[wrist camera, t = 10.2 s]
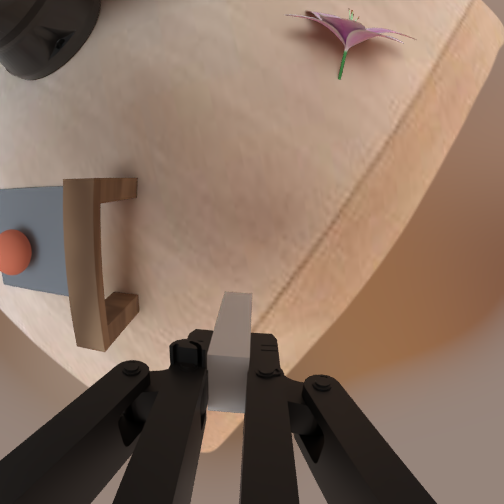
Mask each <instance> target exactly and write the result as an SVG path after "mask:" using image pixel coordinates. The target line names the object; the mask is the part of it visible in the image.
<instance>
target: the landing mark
mask: <svg viewBox="0 0 504 504" xmlns="http://www.w3.org/2000/svg"><path fill="white" fill-rule="evenodd" d="M10 229H14V230H18V231H20V232H22V233H23V234H24V235H25V236H26V237H27V238H28V240H29V242H30V245H31V250H32V255H31V260H30V263H29V265H28V267H27V268H26V269H25V270H24V271H23V272H21V273H20V274H17V275H7V274H4V273H3V272H2V276H3V283H4V284H5V285H10V286H15V287H20V288H25V289H30V290H36V291H41V292H47V293H53V294H58V295H64V296H69V293H68V285H67V275H66V264H65V251H64V232H63V186H55V187H33V188H15V189H1V190H0V234H1V233H2V232H4V231H6V230H10Z"/></svg>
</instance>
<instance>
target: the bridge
mask: <svg viewBox="0 0 504 504" xmlns="http://www.w3.org/2000/svg"><path fill="white" fill-rule="evenodd" d="M131 198H137V178H87V179H63V232H64V251H65V264H66V275H67V285H68V293H69V301H70V308H71V315H72V321H73V327H74V333H75V338H76V343H77V346H78V347H83V348H87V349H92V350H97V351H102V352H106V350H107V349H108V348H109V347H110V345H111V344H112V343H113V342H114V341H115V339H116V338H117V337H118V336H119V335H120V333H121V332H122V331H123V330H124V329H125V328H126V326H127V325H128V324H129V323H130V322H131V320H132V319H133V318H134V317H135V316H136V315H137V313H138V312H139V303H138V295H135V294H126V293H118V292H113V293H112V294H111V295H110V296H109V297H107V298H106V299H104V287H103V274H102V257H101V227H100V204H101V203H107V202H112V201H118V200H125V199H131Z"/></svg>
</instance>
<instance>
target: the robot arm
mask: <svg viewBox="0 0 504 504" xmlns="http://www.w3.org/2000/svg"><path fill="white" fill-rule="evenodd" d="M99 11H100V0H0V63H1V64H2V65H3V66H4V67H5V68H6V70H7V71H8V72H9V73H11V74H12V75H14V76H17V77H20V78H23V79H26V80H34V79H39V78H42V77H44V76H47V75H49V74H50V73H52V72H54V71H55V70H57V69H58V68H60V67H61V66H62V65H63V64H65V63H66V62H67V61H68V60H69V59H70V58H71V57H72V56H73V55H74V54H75V53H76V52H77V51H78V50H79V48H80V47H81V46H82V45H83V43H84V42H85V41H86V39H87V38H88V36H89V35H90V33H91V31H92V29H93V27H94V25H95V23H96V21H97V18H98V15H99ZM251 312H252V293H238V292H224V296H223V299H222V303H221V306H220V310H219V314H218V317H217V321H216V324H215V328H214V331H211V330H200V329H195V330H194V331H193V332H191V333H190V334H189V336H188V338H187V339H182V340H177V341H175V342H173V343H171V345H170V346H169V348H170V363H171V365H170V367H169V369H166V370H161V371H149V367H148V366H147V365H146V364H145V363H143V362H141V361H136V360H129V361H125V362H122V363H120V364H118V365H117V366H115V367H114V368H113V369H112V370H111V371H109V372H108V373H107V374H106V375H104V376H103V377H102V378H101V379H100V380H98V381H97V382H96V383H95V384H93V385H92V386H91V387H90V388H89V389H87V390H86V391H85V392H84V393H83V394H81V395H80V396H79V397H78V398H76V399H75V400H74V401H73V402H71V403H70V404H69V405H68V406H67V407H65V408H64V409H63V410H62V411H61V412H59V413H58V414H57V415H56V416H54V417H53V418H52V419H51V420H49V421H48V422H47V423H46V424H45V425H43V426H42V427H41V428H40V429H38V430H37V431H36V432H35V433H34V434H32V435H31V436H30V437H29V438H27V440H25V441H24V442H23V443H21V444H20V445H19V446H18V447H16V448H15V449H14V450H13V451H12V452H10V453H9V454H8V455H7V456H5V457H4V458H3V459H2V460H1V461H0V504H91V502H92V501H93V500H94V499H95V498H96V497H97V495H98V494H99V493H100V492H101V491H102V489H103V488H104V487H105V486H106V485H107V483H108V482H109V481H110V480H111V479H112V477H113V476H114V475H115V474H116V473H117V471H118V470H119V469H120V468H121V466H122V465H123V464H124V463H125V462H126V461H127V459H128V458H129V457H130V456H131V454H132V453H133V454H132V457H131V459H130V461H129V463H128V466H127V468H126V471H125V473H124V476H123V478H122V481H121V483H120V486H119V488H118V491H117V493H116V496H115V498H114V501H113V503H112V504H190V502H191V496H192V491H193V486H194V480H195V475H196V469H197V465H198V459H199V454H200V449H201V444H202V439H203V434H204V429H205V424H206V408H207V404H208V410H211V411H221V412H233V413H245V415H244V429H243V447H242V465H241V483H240V499H239V504H299V497H298V486H297V477H296V469H295V460H294V452H293V443H292V434H291V433H294V438H295V440H296V442H297V444H298V446H299V448H300V450H301V452H302V454H303V456H304V458H305V460H306V462H307V464H308V466H309V468H310V470H311V472H312V474H313V476H314V478H315V480H316V482H317V484H318V486H319V487H320V489H321V491H322V493H323V495H324V497H325V499H326V501H327V503H328V504H437V503H436V502H435V501H434V499H433V498H432V497H431V496H430V495H429V494H428V492H427V491H426V490H425V489H424V487H423V486H422V485H421V484H420V483H419V481H418V480H417V479H416V478H415V477H414V475H413V474H412V473H411V471H410V470H409V469H408V468H407V467H406V465H405V464H404V463H403V462H402V460H401V459H400V458H399V457H398V455H397V454H396V453H395V452H394V451H393V449H392V448H391V447H390V446H389V444H388V443H387V442H386V441H385V440H384V438H383V437H382V436H381V435H380V433H379V432H378V431H377V429H375V427H374V426H373V425H372V423H371V422H370V421H369V420H368V418H367V417H366V416H365V415H364V414H363V412H362V411H361V410H360V408H359V407H358V406H357V405H356V403H355V402H354V401H353V399H352V398H351V397H350V396H349V395H348V393H347V392H346V391H345V389H344V388H343V387H342V386H341V384H340V383H339V382H338V381H337V380H336V379H334V378H332V377H330V376H327V375H313V376H309V377H308V378H307V379H305V382H304V383H303V382H298V381H294V380H291V379H289V378H287V377H286V376H284V373H283V370H282V369H281V368H280V361H279V353H278V344H277V339H276V338H275V337H274V336H273V335H272V334H263V333H251Z"/></svg>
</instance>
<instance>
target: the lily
mask: <svg viewBox="0 0 504 504" xmlns="http://www.w3.org/2000/svg"><path fill="white" fill-rule="evenodd" d="M307 12H311V11H307ZM312 13H313V14H314V15H316V16H317V17H318V18H319V19H320V20H319V19H316V18H313V17H308V16H301V15H287V16H295V17H301V18H307V19H310V20H314V21H317V22H319V23H321V24H323V25H324V26H326V27H327V28H329V29H330V30H331V31H332V32H333V33H334V34H335V35H336V36H337V37H338V38H339V39H340V40H341V42H342V43H343V44H344V46H345V49H344V54H343V58H342V62H341V67H340V72H339V76H338V79H339V80H340V79H341V76H342V72H343V67H344V63H345V58H346V54H347V51H348V49H349V48H350V47H352V46H354V45H356V44H358V43H360V42H363V41H365V40H368V39H370V38H373V37H376V36H382V37H386V38H389V39H392V40H395V41H398V42H401V43H403V42H402V41H400V40H398V39H396V38H393V37H390V36H385V35H381V34H379V33H386V32H392V33H397V34H400V35H403V36H407V35H404V34H401V33H398V32H395V31H392V30H388V29H383V28H367V29H365V26H363V25H362V24H361V23H359V22H356V20H357V19H359V17H358V18H357V19H356V20H355V21H353V20H352V19H353V16H354V14H353V10H351V19H350V9H349V20H348V19H343V18H340V17H337V16H334V15H330V14H325V13H317V12H312ZM352 14H353V16H352ZM407 37H409V36H407ZM409 38H412V37H409ZM412 39H414V38H412ZM415 40H416V39H415ZM403 44H404V43H403Z"/></svg>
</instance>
